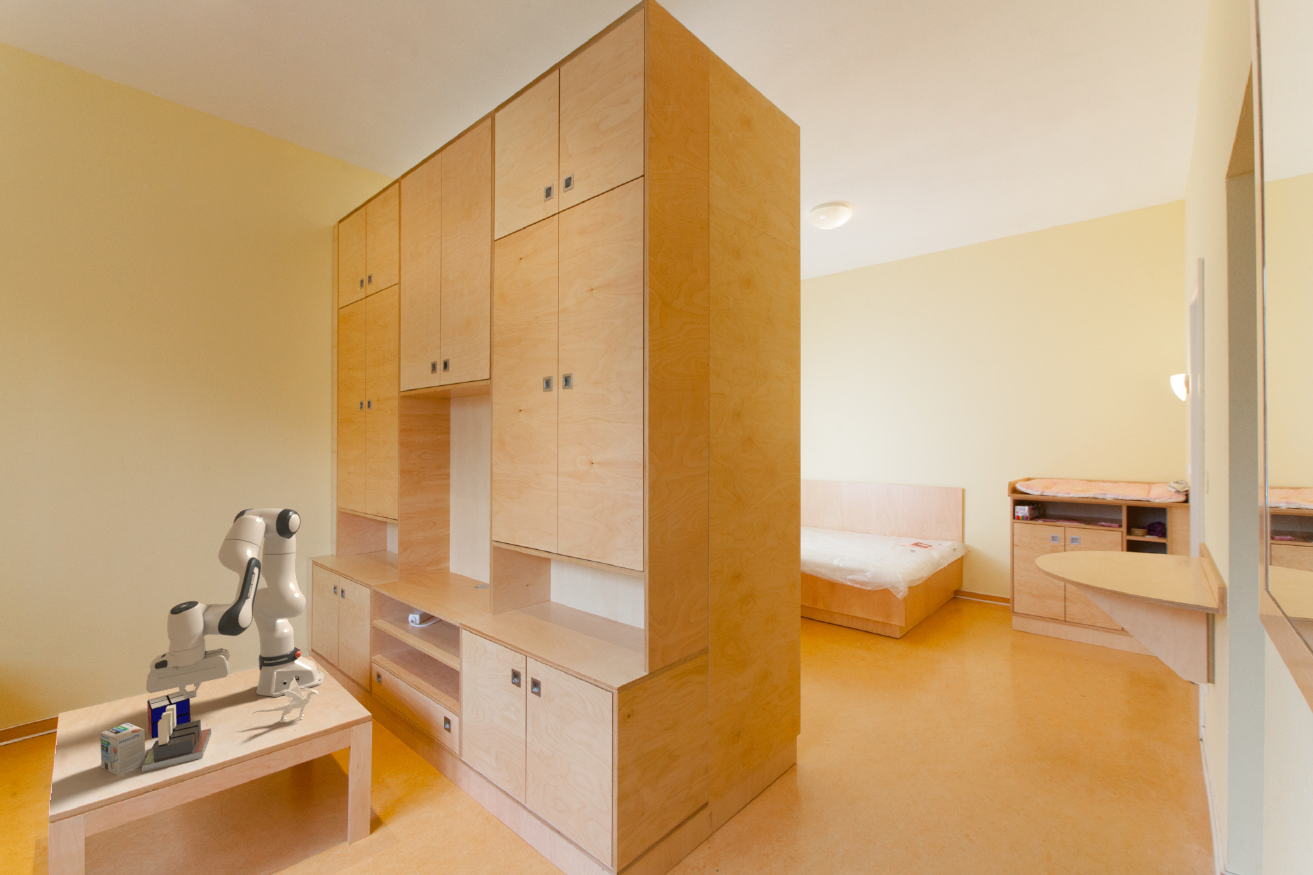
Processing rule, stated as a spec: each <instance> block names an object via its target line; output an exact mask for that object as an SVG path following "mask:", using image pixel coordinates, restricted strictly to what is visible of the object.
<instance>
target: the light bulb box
mask: <svg viewBox="0 0 1313 875" xmlns="http://www.w3.org/2000/svg"><path fill="white" fill-rule="evenodd" d="M145 733H146V732H145V728H142V727H139V726H137V725H134V724H131V723H129V722H124V723H123V724H121V725H118V726H115V727H112V728H110V729H107V730H104V731H101V732H100V734H99V735H100V767H101V768H102V769H104V770H106V772H110V773H111V774H114V775H115V776H117V777H120V776H122V775H124V774H127V773H129V772H131V771H133V770H136V769H138V768H141V767H142V765H143V763H144V762H145V760H146V744H145V743H146V742H145V741H146V739H145V735H146V734H145Z"/></svg>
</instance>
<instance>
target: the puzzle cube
mask: <svg viewBox="0 0 1313 875" xmlns="http://www.w3.org/2000/svg"><path fill="white" fill-rule="evenodd" d="M146 703H147V728H148V732H149V735H150V737H151V739H156V738H158V722H159V720H161V719H162V715H163V713H165V712H166V708H167V706H170V705H175V704H176V725H178V724H183V723H188V722H192V721H191V720H192V719H191V698H189V699H184V694H183V693H182V692H180V691H175V692H171V693H168V694H164V695H161V696H158V697H153V698H150V699H148V700H147V702H146Z"/></svg>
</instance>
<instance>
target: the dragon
mask: <svg viewBox="0 0 1313 875" xmlns="http://www.w3.org/2000/svg"><path fill="white" fill-rule="evenodd" d="M301 688H304V689H300V688H299V686H298V684H297V682H296V680H295V678H294V679H293V680H292V682H291V684H290V687H289V690H286V692H285V695H284V696H285V697H288V698H289V699H288V702H286V703H285V704H282V705H279V706H276V707H271V708H270V707H269V708H264V709H259V710H258V709H257V710H255V711H253V712H252V713H251V715H252V714H254V713H255V714H256V713H263V712H264V713H268V712H280V711H283V712H282V713H281V716H280V722H281V723H286V721H287V720H288V718H287V717H285V716H287V715H289V714H290V713H291V712H292V711H293V709H300V711H299V716H298V718H299V719H300V720H303V719H304V717H305V715H304V714H303V713H304V710H305V707H307V705H308V704H309V703H311V699H312V696H313V695H317V696H319V694H320V693H319V692H318V691H317V690H315V689H312V688H305V687H301ZM303 691H304V692H307V691H308V692H307V694H306V696H305V695H304V693H303Z"/></svg>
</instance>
